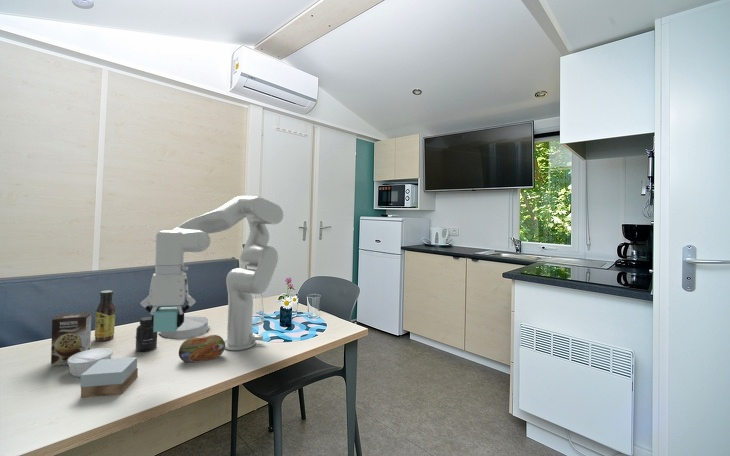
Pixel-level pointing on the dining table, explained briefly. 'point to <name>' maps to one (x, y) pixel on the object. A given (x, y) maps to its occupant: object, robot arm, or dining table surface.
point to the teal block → (165, 319)
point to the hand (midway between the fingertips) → (168, 325)
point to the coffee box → (69, 336)
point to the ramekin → (87, 360)
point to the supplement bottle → (145, 335)
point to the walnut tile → (109, 387)
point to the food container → (189, 328)
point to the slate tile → (109, 372)
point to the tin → (201, 348)
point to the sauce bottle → (105, 317)
